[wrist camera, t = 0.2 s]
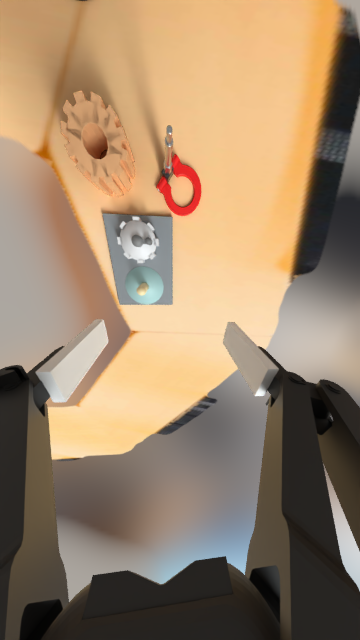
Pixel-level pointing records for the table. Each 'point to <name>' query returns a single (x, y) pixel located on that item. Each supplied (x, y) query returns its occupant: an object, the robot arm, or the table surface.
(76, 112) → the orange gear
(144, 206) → the table surface
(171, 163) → the tow hook
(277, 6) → the table surface
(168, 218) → the gear board
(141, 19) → the table surface
